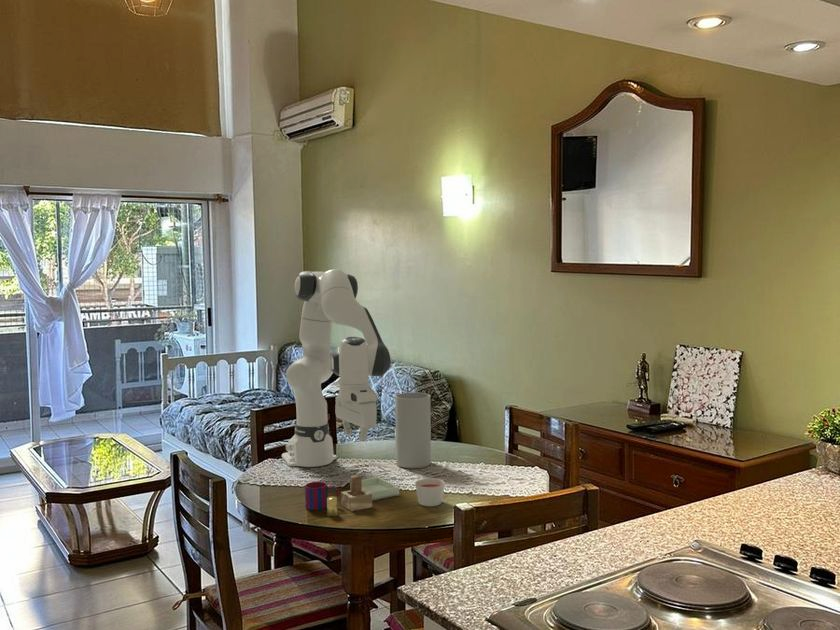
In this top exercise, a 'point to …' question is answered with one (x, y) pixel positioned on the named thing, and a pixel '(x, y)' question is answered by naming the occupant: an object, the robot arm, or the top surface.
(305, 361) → the robot arm
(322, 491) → the mug
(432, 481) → the candle
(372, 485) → the tray
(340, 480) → the top surface
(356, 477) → the dowel
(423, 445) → the cylinder vase
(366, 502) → the socket block
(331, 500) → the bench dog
